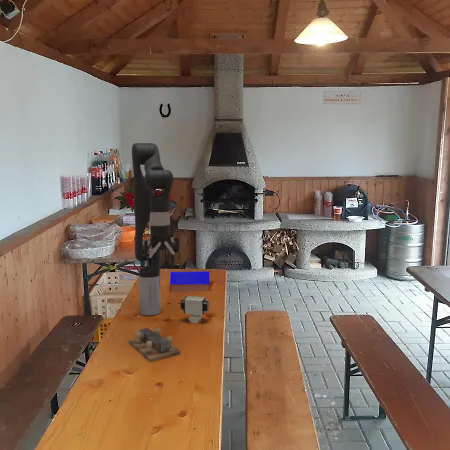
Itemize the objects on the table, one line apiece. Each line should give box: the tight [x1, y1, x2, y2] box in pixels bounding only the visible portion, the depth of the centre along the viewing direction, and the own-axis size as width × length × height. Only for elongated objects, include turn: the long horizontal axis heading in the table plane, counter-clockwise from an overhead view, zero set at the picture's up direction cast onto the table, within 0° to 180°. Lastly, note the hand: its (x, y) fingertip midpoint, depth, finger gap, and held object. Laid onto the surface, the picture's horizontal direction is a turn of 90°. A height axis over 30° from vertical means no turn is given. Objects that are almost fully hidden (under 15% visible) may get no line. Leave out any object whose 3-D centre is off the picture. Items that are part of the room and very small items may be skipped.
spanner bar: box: [138, 327, 169, 353], centre depth 179 cm, size 16×4×4 cm, turn 39°
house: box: [169, 270, 211, 293], centre depth 247 cm, size 12×20×12 cm, turn 92°
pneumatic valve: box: [180, 295, 210, 324], centre depth 205 cm, size 6×12×12 cm, turn 79°
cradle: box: [128, 327, 181, 363], centre depth 179 cm, size 20×12×5 cm, turn 33°
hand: (161, 265), depth 182 cm, fingers open, 8 cm apart
